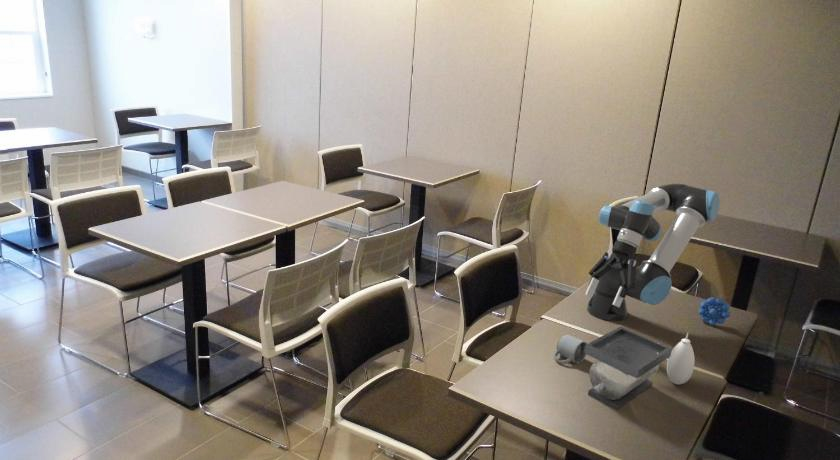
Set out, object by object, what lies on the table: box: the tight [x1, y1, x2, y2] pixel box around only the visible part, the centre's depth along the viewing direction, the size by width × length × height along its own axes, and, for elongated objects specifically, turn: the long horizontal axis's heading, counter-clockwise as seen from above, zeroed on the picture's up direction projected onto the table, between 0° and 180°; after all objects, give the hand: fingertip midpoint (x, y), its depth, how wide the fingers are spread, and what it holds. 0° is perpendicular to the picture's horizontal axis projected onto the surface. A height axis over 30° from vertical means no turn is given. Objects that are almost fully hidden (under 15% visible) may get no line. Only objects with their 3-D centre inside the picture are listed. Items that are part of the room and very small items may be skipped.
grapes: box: [697, 296, 731, 326], centre depth 234 cm, size 12×7×12 cm, turn 43°
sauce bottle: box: [666, 332, 696, 385], centre depth 190 cm, size 8×8×18 cm
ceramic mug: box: [554, 334, 588, 365], centre depth 202 cm, size 11×8×8 cm
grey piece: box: [584, 326, 673, 411], centre depth 185 cm, size 21×17×15 cm
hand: (601, 300), depth 205 cm, fingers open, 13 cm apart
